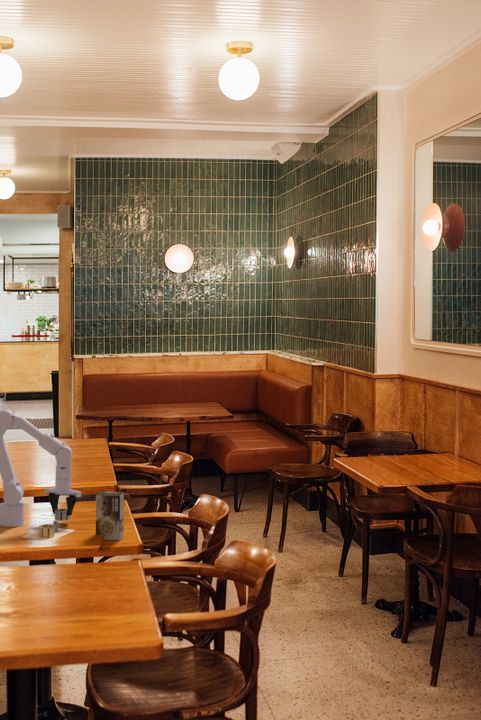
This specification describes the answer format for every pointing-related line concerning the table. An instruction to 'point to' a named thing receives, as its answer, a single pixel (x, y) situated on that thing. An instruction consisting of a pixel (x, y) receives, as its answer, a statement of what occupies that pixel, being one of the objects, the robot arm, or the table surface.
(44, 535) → the brass gear
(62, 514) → the steel gear
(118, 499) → the coffee box
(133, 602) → the table surface
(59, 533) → the gear board
